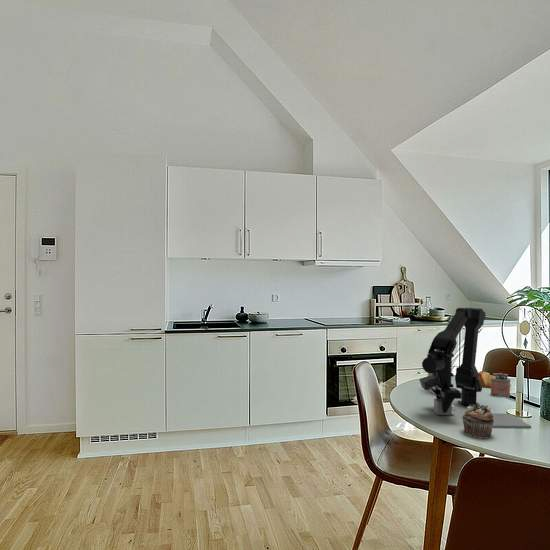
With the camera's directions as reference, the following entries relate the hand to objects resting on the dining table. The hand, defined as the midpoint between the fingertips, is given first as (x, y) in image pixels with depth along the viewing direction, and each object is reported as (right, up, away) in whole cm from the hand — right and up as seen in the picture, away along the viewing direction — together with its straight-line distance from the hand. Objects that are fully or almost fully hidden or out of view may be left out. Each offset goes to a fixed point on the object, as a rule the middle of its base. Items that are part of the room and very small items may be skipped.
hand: (442, 410), depth 162 cm
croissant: (+38, -2, +44) cm, 58 cm away
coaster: (+19, -2, -7) cm, 20 cm away
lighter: (+36, -2, +26) cm, 44 cm away
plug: (0, -1, 0) cm, 1 cm away
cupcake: (+4, -2, -19) cm, 19 cm away
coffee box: (+10, -2, +30) cm, 32 cm away
